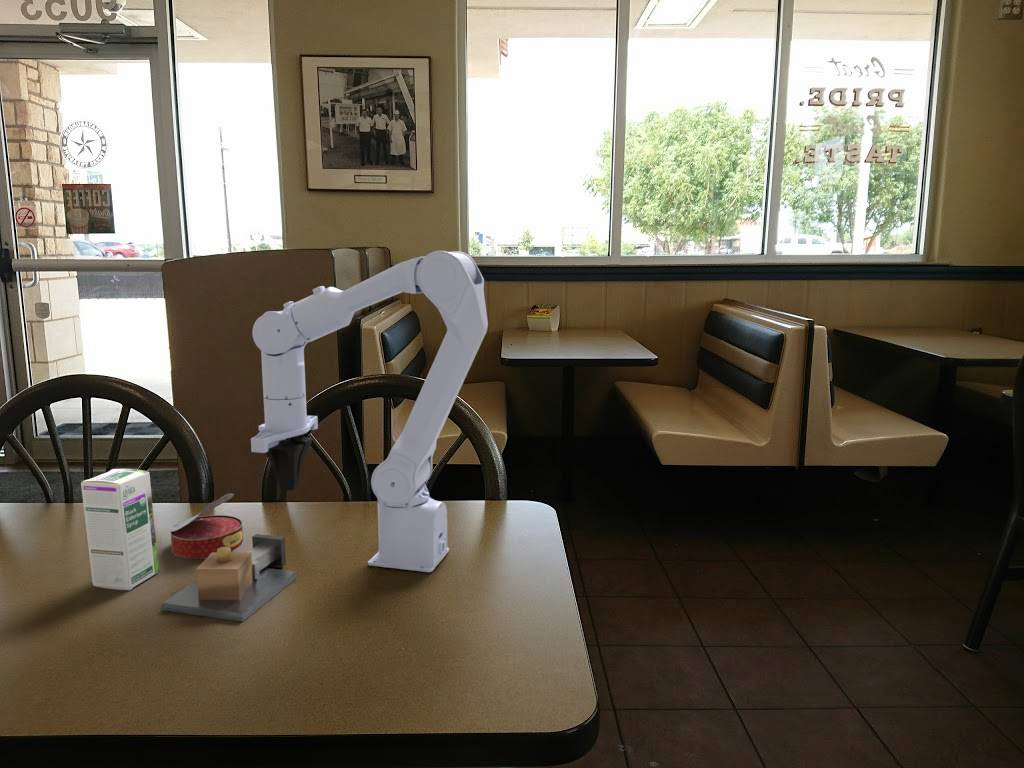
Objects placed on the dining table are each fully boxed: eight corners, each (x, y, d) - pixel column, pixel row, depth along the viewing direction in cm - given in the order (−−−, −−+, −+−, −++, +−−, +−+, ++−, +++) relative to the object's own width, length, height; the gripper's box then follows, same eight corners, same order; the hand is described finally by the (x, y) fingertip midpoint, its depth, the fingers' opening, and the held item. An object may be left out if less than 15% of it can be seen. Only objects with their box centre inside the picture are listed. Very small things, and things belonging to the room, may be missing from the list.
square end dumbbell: (285, 564, 102) (284, 537, 101) (257, 586, 95) (255, 557, 94) (257, 560, 103) (256, 533, 102) (227, 582, 96) (225, 553, 95)
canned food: (199, 590, 105) (161, 541, 99) (180, 560, 112) (143, 513, 107) (268, 540, 109) (235, 491, 104) (245, 514, 117) (213, 468, 112)
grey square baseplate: (295, 578, 98) (295, 571, 98) (242, 621, 86) (242, 613, 86) (223, 569, 100) (222, 562, 100) (162, 610, 89) (161, 602, 89)
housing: (239, 599, 90) (237, 557, 89) (198, 599, 90) (195, 557, 89) (252, 581, 95) (250, 541, 94) (213, 581, 94) (211, 541, 94)
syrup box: (130, 591, 94) (120, 482, 91) (90, 587, 95) (79, 479, 92) (159, 572, 99) (151, 469, 97) (121, 568, 100) (112, 466, 98)
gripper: (286, 385, 111) (290, 472, 113) (228, 404, 97) (234, 502, 100) (329, 388, 109) (332, 475, 112) (276, 407, 96) (281, 506, 98)
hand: (289, 488), depth 106 cm, fingers closed
